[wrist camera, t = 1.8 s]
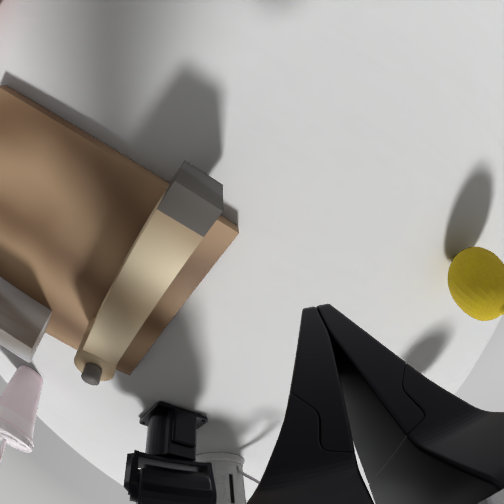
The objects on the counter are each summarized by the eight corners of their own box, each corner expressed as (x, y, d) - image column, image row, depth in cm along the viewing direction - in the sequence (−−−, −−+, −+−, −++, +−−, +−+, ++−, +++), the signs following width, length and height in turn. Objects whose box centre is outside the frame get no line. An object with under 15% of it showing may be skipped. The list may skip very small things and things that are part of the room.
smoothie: (2, 361, 26) (-35, 450, 14) (25, 353, 25) (-16, 457, 13) (35, 392, 29) (9, 479, 17) (62, 388, 28) (35, 487, 16)
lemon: (425, 259, 23) (478, 318, 16) (467, 220, 21) (527, 268, 15) (441, 292, 25) (484, 347, 18) (479, 257, 24) (527, 305, 17)
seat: (131, 367, 26) (120, 422, 21) (-33, 267, 19) (-67, 307, 13) (237, 226, 20) (245, 284, 14) (5, 85, 13) (-56, 96, 7)
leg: (117, 349, 23) (107, 385, 20) (84, 332, 22) (70, 368, 19) (227, 187, 17) (228, 214, 14) (180, 157, 16) (169, 177, 13)
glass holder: (179, 458, 39) (179, 539, 26) (254, 439, 36) (266, 535, 23) (213, 471, 43) (217, 543, 30) (283, 453, 40) (297, 534, 27)
